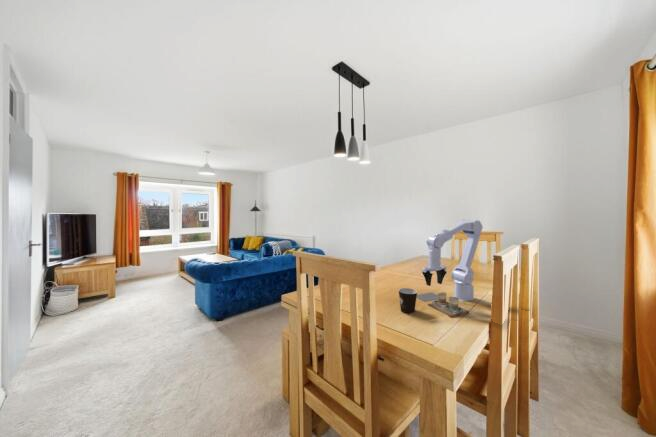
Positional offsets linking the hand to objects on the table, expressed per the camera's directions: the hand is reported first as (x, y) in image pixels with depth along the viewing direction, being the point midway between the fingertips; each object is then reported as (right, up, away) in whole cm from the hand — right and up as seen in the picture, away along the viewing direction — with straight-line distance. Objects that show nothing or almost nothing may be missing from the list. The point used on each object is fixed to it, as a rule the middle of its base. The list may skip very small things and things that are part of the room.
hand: (434, 284), depth 129 cm
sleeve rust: (+2, -9, -4) cm, 10 cm away
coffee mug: (-17, -11, -8) cm, 22 cm away
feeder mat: (0, -10, +8) cm, 12 cm away
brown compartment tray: (+3, -10, -8) cm, 13 cm away
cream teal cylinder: (+5, -9, -11) cm, 15 cm away
